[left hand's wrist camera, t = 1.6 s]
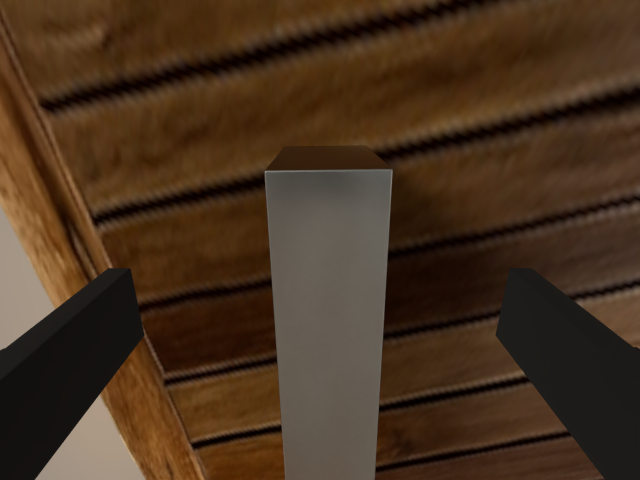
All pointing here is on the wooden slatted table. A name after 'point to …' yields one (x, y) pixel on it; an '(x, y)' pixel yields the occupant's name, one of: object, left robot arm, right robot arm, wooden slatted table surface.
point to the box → (329, 304)
